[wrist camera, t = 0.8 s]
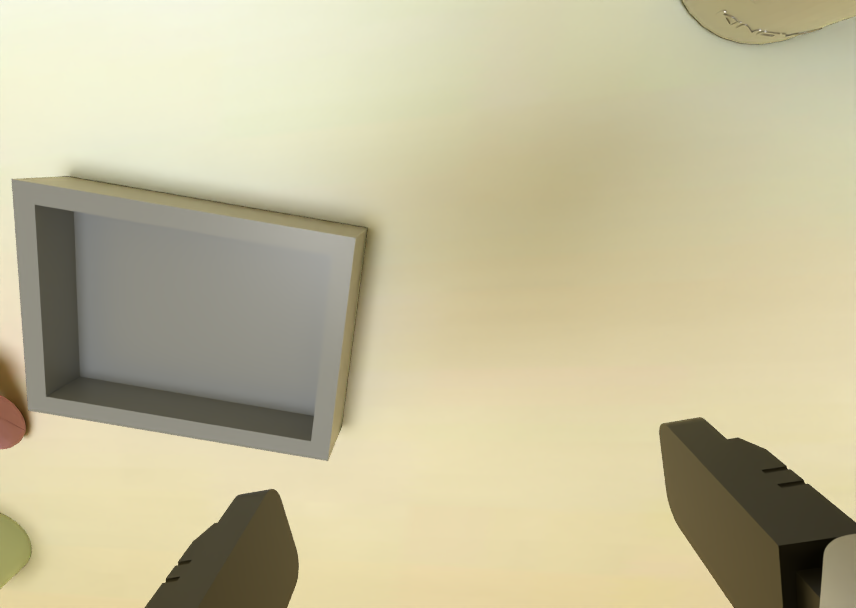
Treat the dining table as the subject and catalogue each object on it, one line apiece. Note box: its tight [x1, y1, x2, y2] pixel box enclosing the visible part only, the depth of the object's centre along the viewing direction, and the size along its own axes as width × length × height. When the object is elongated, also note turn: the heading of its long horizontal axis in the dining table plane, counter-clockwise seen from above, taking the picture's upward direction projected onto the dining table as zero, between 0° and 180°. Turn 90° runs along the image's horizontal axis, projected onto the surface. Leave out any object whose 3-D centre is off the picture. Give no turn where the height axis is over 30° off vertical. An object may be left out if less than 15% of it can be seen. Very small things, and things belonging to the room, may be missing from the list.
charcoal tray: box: [12, 176, 368, 461], centre depth 26 cm, size 12×16×4 cm
